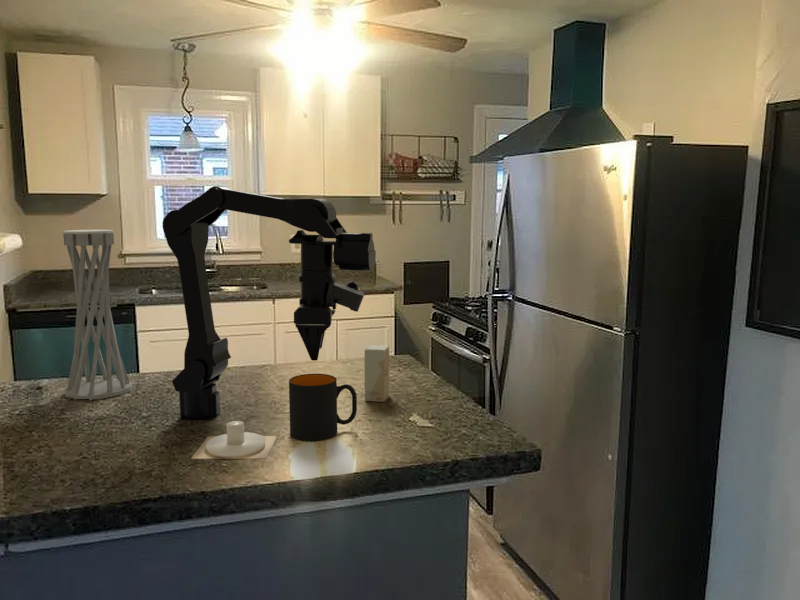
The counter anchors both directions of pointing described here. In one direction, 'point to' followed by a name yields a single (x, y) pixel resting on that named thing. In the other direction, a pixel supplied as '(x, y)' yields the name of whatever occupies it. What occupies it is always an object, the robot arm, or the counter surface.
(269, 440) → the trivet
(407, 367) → the counter surface
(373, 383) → the box
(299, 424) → the mug
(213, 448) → the lid
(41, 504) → the counter surface
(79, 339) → the vase
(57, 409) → the counter surface
